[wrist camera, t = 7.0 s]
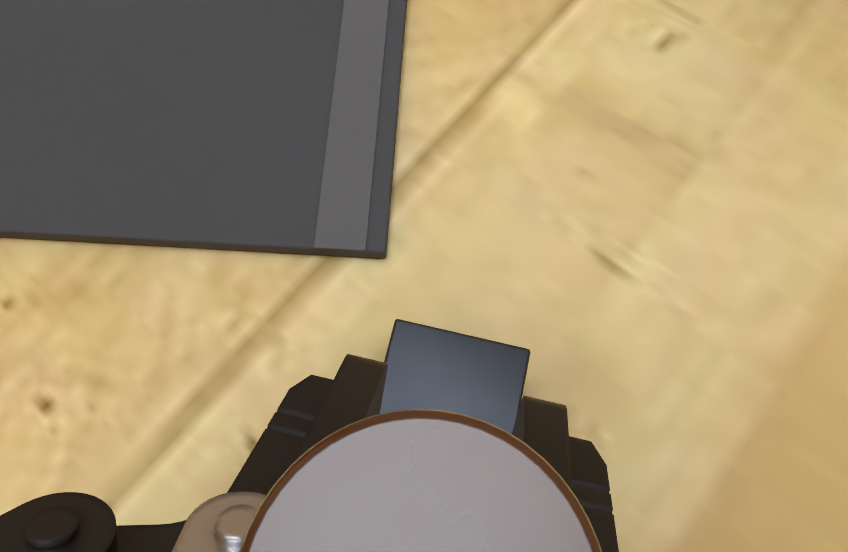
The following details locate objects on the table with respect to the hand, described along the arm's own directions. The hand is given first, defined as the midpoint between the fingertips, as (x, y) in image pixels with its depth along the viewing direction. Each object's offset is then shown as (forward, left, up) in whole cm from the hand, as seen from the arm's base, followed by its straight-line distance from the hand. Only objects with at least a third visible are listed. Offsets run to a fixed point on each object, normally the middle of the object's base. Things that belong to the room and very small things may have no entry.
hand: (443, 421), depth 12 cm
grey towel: (+12, -14, -8) cm, 20 cm away
